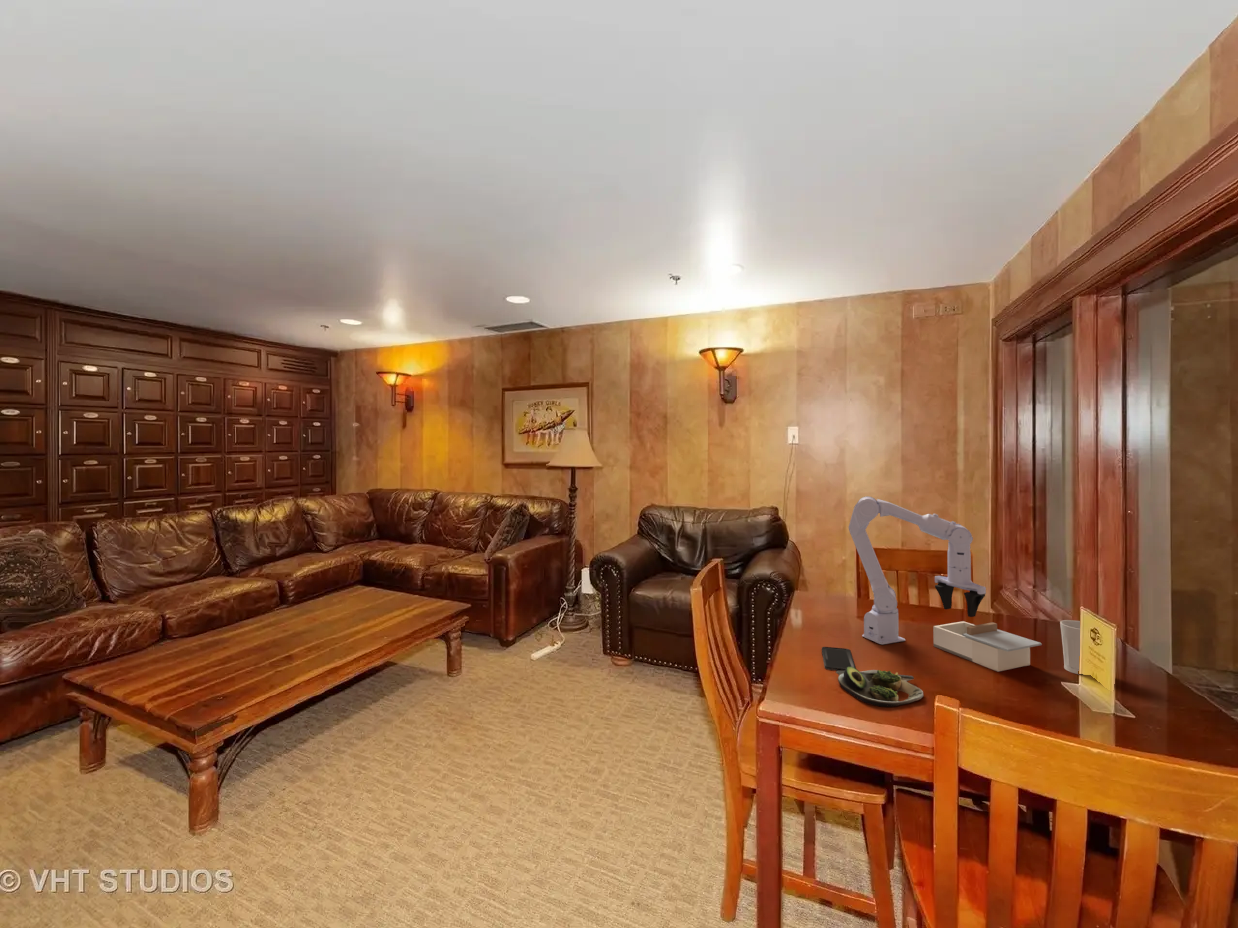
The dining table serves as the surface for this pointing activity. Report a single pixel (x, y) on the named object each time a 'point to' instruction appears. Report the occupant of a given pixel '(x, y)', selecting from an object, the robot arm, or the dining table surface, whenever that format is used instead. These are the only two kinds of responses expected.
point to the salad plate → (878, 686)
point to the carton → (977, 648)
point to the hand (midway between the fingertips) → (959, 612)
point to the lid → (998, 637)
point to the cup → (1071, 644)
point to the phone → (837, 658)
